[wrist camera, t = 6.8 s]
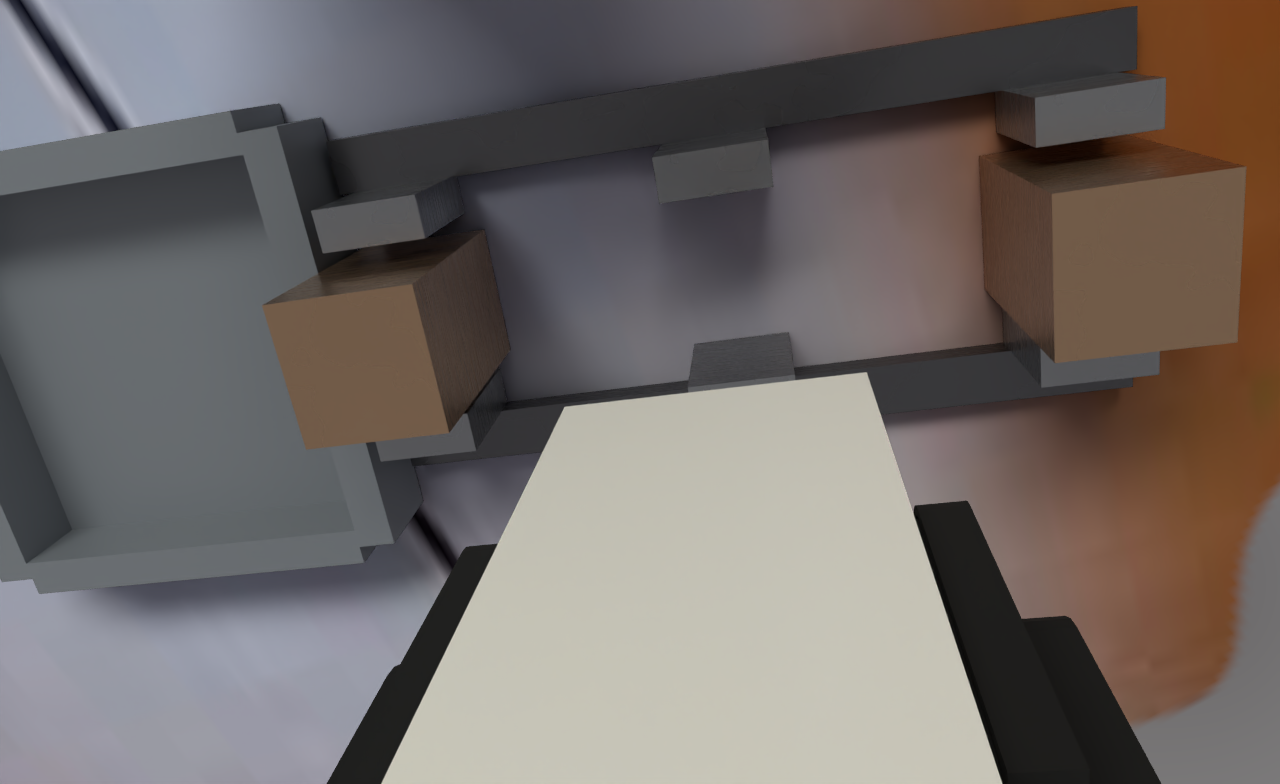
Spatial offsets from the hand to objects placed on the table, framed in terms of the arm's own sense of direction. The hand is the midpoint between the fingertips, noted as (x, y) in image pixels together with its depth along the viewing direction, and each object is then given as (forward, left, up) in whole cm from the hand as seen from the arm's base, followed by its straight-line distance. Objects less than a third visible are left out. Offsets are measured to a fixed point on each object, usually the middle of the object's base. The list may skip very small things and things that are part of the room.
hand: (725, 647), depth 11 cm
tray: (+19, +1, -20) cm, 28 cm away
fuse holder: (0, 0, -20) cm, 20 cm away
